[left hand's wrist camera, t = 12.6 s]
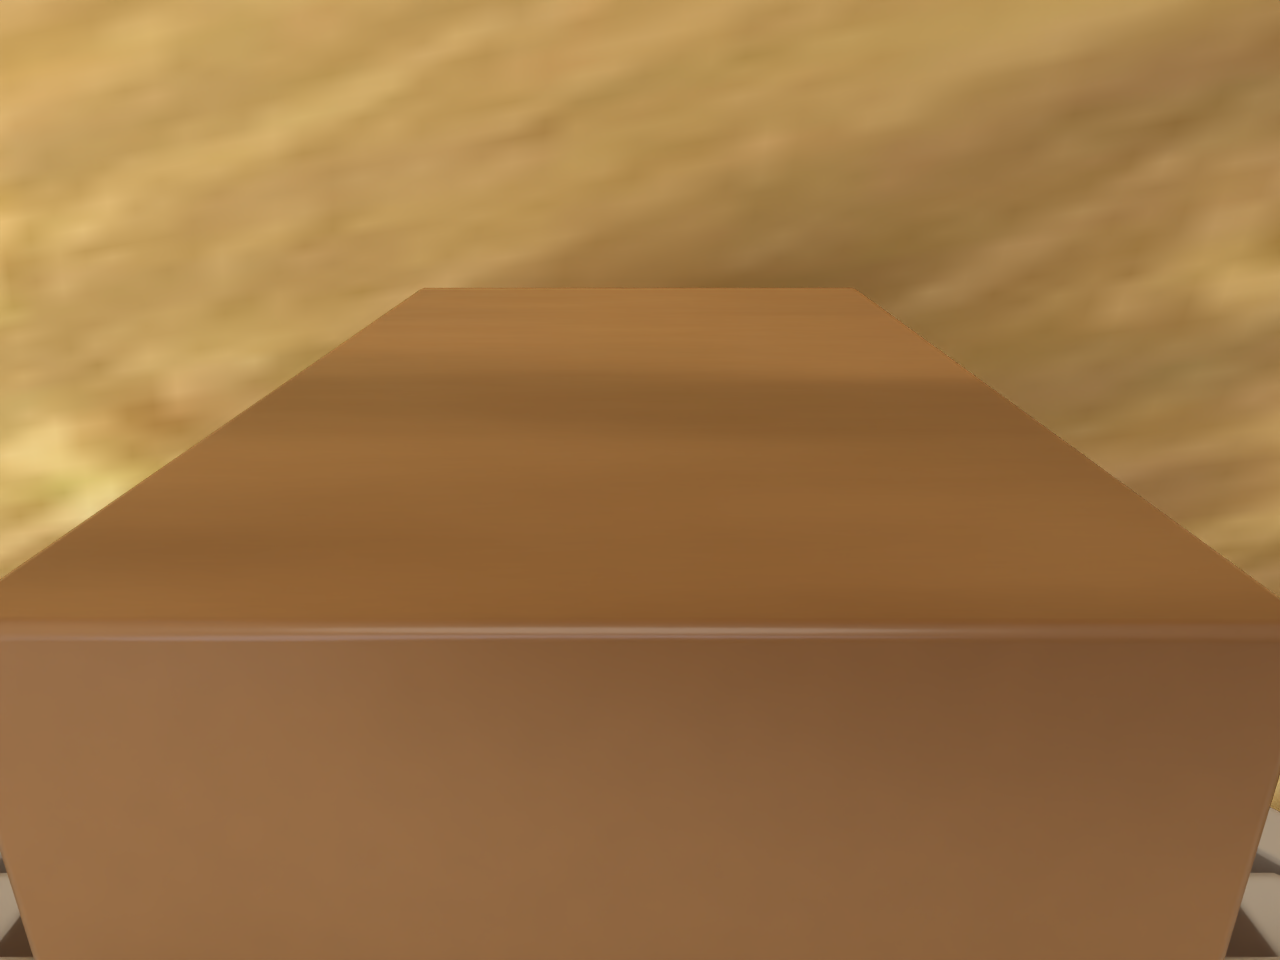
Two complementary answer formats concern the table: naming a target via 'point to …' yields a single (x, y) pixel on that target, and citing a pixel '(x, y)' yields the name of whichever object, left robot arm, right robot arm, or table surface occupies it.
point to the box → (634, 662)
